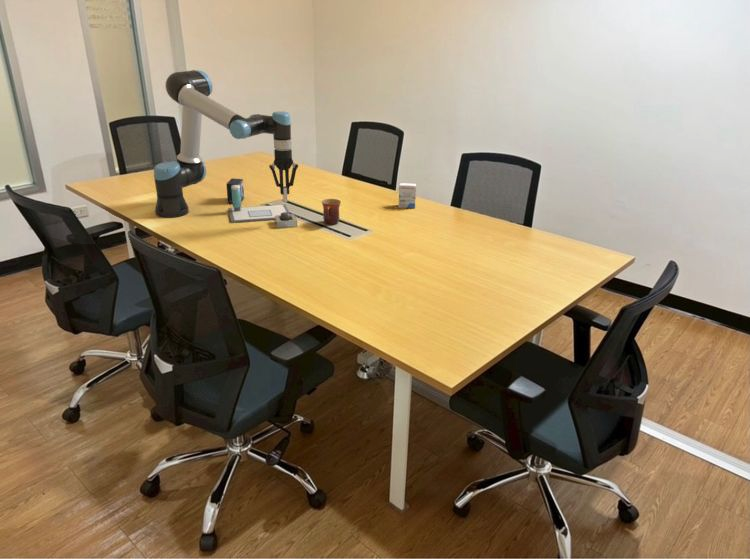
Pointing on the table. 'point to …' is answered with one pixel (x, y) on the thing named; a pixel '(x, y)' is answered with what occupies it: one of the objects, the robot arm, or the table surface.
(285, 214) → the button
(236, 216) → the sheet
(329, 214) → the mug
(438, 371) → the table surface
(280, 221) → the button housing
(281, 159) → the robot arm
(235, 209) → the marker
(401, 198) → the ink box
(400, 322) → the table surface
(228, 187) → the small box
